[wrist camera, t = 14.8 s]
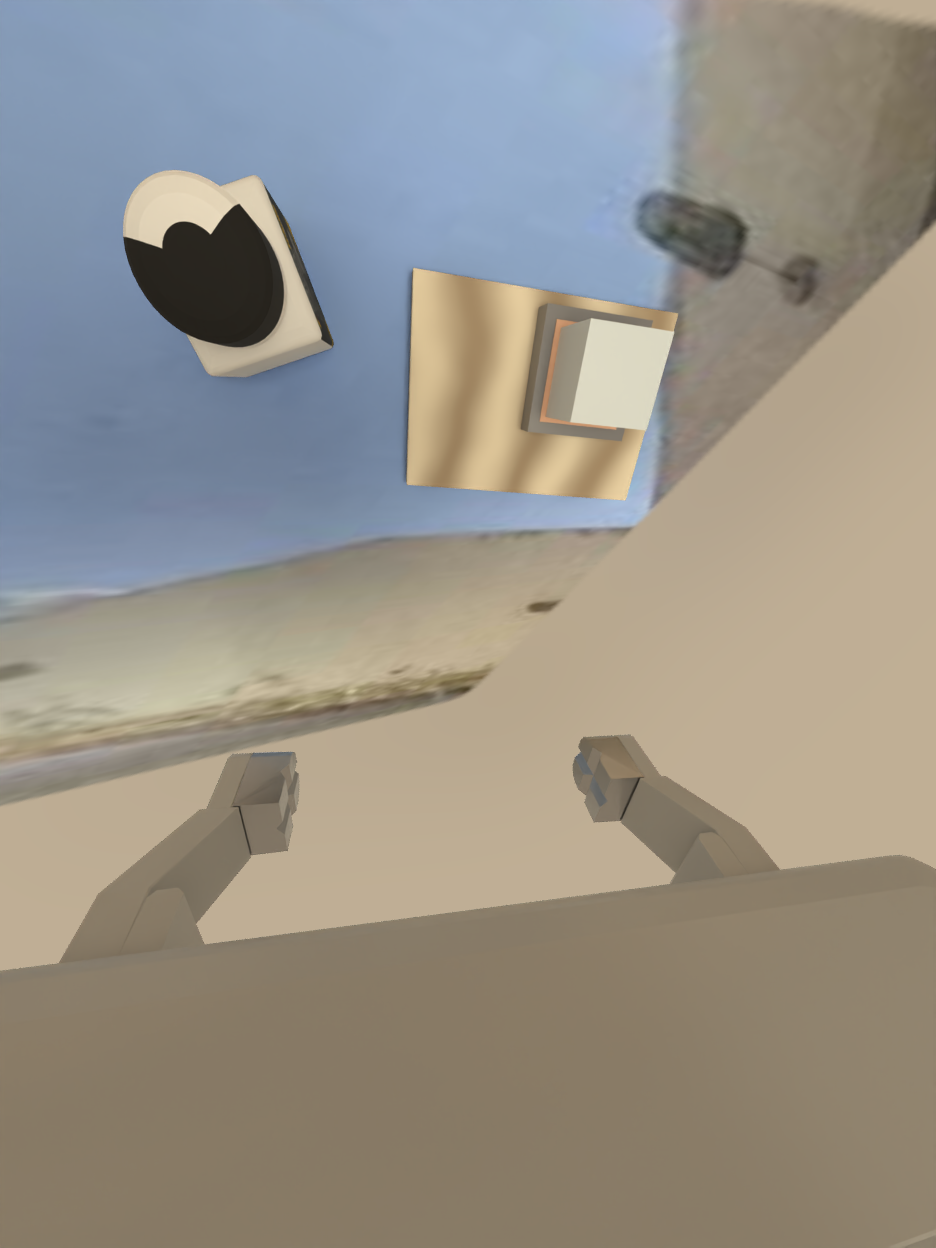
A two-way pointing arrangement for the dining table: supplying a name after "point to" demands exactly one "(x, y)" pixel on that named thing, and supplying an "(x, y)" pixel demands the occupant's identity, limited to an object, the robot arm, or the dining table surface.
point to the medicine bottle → (223, 271)
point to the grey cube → (607, 373)
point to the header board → (506, 391)
